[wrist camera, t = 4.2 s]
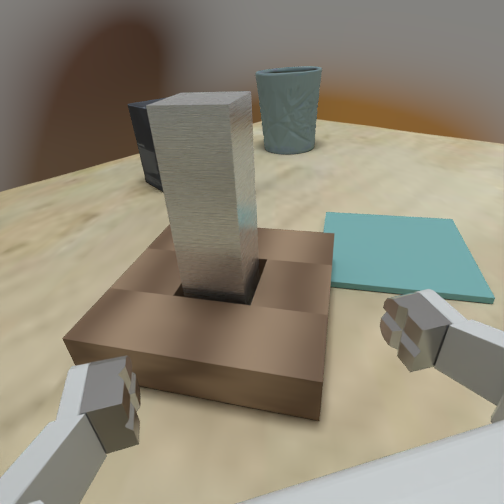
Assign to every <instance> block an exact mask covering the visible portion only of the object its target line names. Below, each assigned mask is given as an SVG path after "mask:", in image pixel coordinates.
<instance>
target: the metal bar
mask: <svg viewBox="0 0 504 504" xmlns="http://www.w3.org/2000/svg"><path fill="white" fill-rule="evenodd" d="M146 108H147V113H148V118H149V123H150V128H151V133H152V138H153V143H154V148H155V152H156V157H157V162H158V167H159V172H160V177H161V182H162V187H163V192H164V197H165V202H166V207H167V212H168V217H169V222H170V227H171V232H172V237H173V242H174V247H175V252H176V257H177V262H178V267H179V272H180V277H181V282H182V287H183V292H184V297H187V298H195V299H203V300H211V301H219V302H227V303H235V304H243V305H251V303H252V300H253V297H254V294H255V292H256V289H257V286H258V284H259V281H260V274H259V253H258V232H257V211H256V190H255V169H254V148H253V127H252V107H251V91H242V92H241V91H239V92H202V93H201V92H197V93H180V94H177V95H174V96H171V97H168V98H166V99H163V100H160V101H157V102H154V103H152V104H149V105H146Z"/></svg>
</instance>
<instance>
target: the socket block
mask: <svg viewBox="0 0 504 504" xmlns="http://www.w3.org/2000/svg"><path fill="white" fill-rule="evenodd" d="M257 232H258V253H259V274H260V281H259V284H258V286H257V289H256V292H255V294H254V297H253V300H252V303H251V305H243V304H235V303H227V302H219V301H211V300H203V299H195V298H187V297H184V292H183V287H182V282H181V277H180V272H179V267H178V262H177V257H176V252H175V247H174V242H173V237H172V232H171V227H170V224H169V226H168V227H167V228H166V229H165V230H164V231H163V232H162V233H161V234H160V235H159V236H158V237H157V238H156V239H155V240H154V241H153V243H152V244H151V245H150V246H149V247H148V248H147V249H146V250H145V251H144V252H143V253H142V254H141V255H140V256H139V257H138V259H137V260H136V261H135V262H134V263H133V264H132V265H131V266H130V267H129V268H128V269H127V270H126V271H125V272H124V273H123V274H122V276H121V277H120V278H119V279H118V280H117V281H116V282H115V283H114V284H113V285H112V286H111V287H110V288H109V289H108V290H107V291H106V293H105V294H104V295H103V296H102V297H101V298H100V299H99V300H98V301H97V302H96V303H95V304H94V305H93V306H92V307H91V309H90V310H89V311H88V312H87V313H86V314H85V315H84V316H83V317H82V318H81V319H80V320H79V321H78V322H77V323H76V324H75V326H74V327H73V328H72V329H71V330H70V331H69V332H68V333H67V334H66V335H65V336H64V337H63V338H62V339H63V341H64V343H65V345H66V347H67V349H68V351H69V353H70V355H71V357H72V359H73V361H74V363H75V365H81V364H87V363H91V362H95V361H100V360H105V359H111V358H116V357H121V356H126V355H128V356H129V357H130V359H131V362H132V372H133V373H135V374H136V376H137V379H138V383H139V386H143V387H148V388H153V389H158V390H163V391H168V392H173V393H179V394H184V395H189V396H194V397H199V398H204V399H210V400H215V401H220V402H225V403H230V404H235V405H240V406H246V407H251V408H256V409H261V410H266V411H271V412H277V413H282V414H287V415H292V416H297V417H302V418H307V419H313V420H318V421H319V418H320V407H321V397H322V386H323V374H324V362H325V349H326V336H327V324H328V311H329V298H330V286H331V273H332V260H333V247H334V235H335V233H323V232H309V231H295V230H281V229H267V228H257Z"/></svg>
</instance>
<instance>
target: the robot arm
mask: <svg viewBox="0 0 504 504" xmlns="http://www.w3.org/2000/svg"><path fill="white" fill-rule="evenodd" d="M383 308H384V309H385V311H386V313H385V314H384V315H383V316H382V318H381V322H380V328H381V333H382V335H383V337H384V340H385V341H386V342H387V344H388V345H389V346H391V347H393V348H395V349H397V356H398V358H399V359H400V360H401V361H402V363H403V364H404V365H405V366H406V368H407V369H408V370H409V371H410V372H413V371H418V370H422V369H426V368H430V367H434V368H435V369H437V370H438V371H440V372H442V373H443V374H445V375H447V376H448V377H450V378H452V379H453V380H455V381H457V382H458V383H460V384H462V385H463V386H465V387H466V388H468V389H470V390H471V391H473V392H475V393H476V394H478V395H480V396H481V397H483V398H485V399H486V400H488V401H490V402H491V403H493V404H495V405H496V406H497V407H496V409H495V410H494V412H493V414H492V416H491V422H492V424H488V425H485V426H482V427H479V428H476V429H472V430H469V431H466V432H463V433H460V434H456V435H453V436H450V437H447V438H444V439H440V440H437V441H434V442H431V443H428V444H424V445H421V446H418V447H415V448H412V449H408V450H405V451H402V452H399V453H395V454H392V455H389V456H386V457H383V458H379V459H376V460H373V461H370V462H367V463H363V464H360V465H357V466H354V467H351V468H347V469H344V470H341V471H338V472H335V473H332V474H328V475H325V476H322V477H319V478H316V479H312V480H309V481H306V482H303V483H300V484H296V485H293V486H290V487H287V488H284V489H280V490H277V491H274V492H271V493H268V494H264V495H261V496H258V497H255V498H252V499H249V500H245V501H242V502H239V503H236V504H504V331H501V330H499V329H496V328H493V327H491V326H488V325H485V324H483V323H480V322H477V321H475V320H467V319H466V318H465V317H464V316H462V315H461V314H460V313H459V312H458V311H457V310H455V309H454V308H453V307H452V306H451V305H450V304H449V303H447V302H446V301H445V300H444V299H443V298H442V297H440V296H439V295H438V294H437V293H436V292H435V291H433V290H431V289H426V290H421V291H417V292H414V293H408V294H404V295H400V296H395V297H391V298H387V299H386V301H385V302H384V307H383ZM139 408H140V388H139V383H138V379H137V376H136V374H135V373H133V372H132V362H131V359H130V357H129V356H128V355H126V356H121V357H116V358H111V359H105V360H100V361H95V362H91V363H87V364H81V365H76V366H72V367H71V368H70V370H69V371H68V374H67V378H66V381H65V385H64V389H63V393H62V397H61V401H60V405H59V409H58V413H57V417H56V421H53V422H49V423H48V424H47V426H46V427H45V428H44V429H43V430H42V431H41V432H40V434H39V435H38V436H37V437H36V438H35V439H34V440H33V441H32V443H31V444H30V445H29V446H28V447H27V448H26V449H25V451H24V452H23V453H22V454H21V455H20V456H19V457H18V458H17V460H16V461H15V462H14V463H13V464H12V465H11V466H10V467H9V469H8V470H7V471H6V472H5V473H4V474H3V475H2V477H1V478H0V504H80V502H81V500H82V498H83V497H84V495H85V493H86V491H87V490H88V488H89V486H90V484H91V483H92V481H93V479H94V477H95V476H96V474H97V472H98V470H99V469H100V467H101V465H102V463H103V462H104V460H105V458H106V456H107V455H106V454H108V453H111V452H115V451H118V450H122V449H125V448H128V447H132V446H135V445H139V430H140V421H139V418H138V415H137V413H136V412H137V411H138V409H139Z"/></svg>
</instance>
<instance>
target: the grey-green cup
mask: <svg viewBox="0 0 504 504" xmlns="http://www.w3.org/2000/svg"><path fill="white" fill-rule="evenodd" d="M321 72H322V68H320V67H312V66H310V67H309V66H308V67H286V68H276V69H268V70H263V71H258V72H256V80H257V88H258V94H259V101H260V103H259V104H260V107H261V109H260V112H261V119H262V126H263V135H264V146H265V149H266V150H267V151H268V152H271V153H276V154H299V153H304V152H307V151H310V150H312V149H313V148H314V143H315V128H316V119H317V107H318V105H317V103H318V98H319V87H320V81H321Z"/></svg>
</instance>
